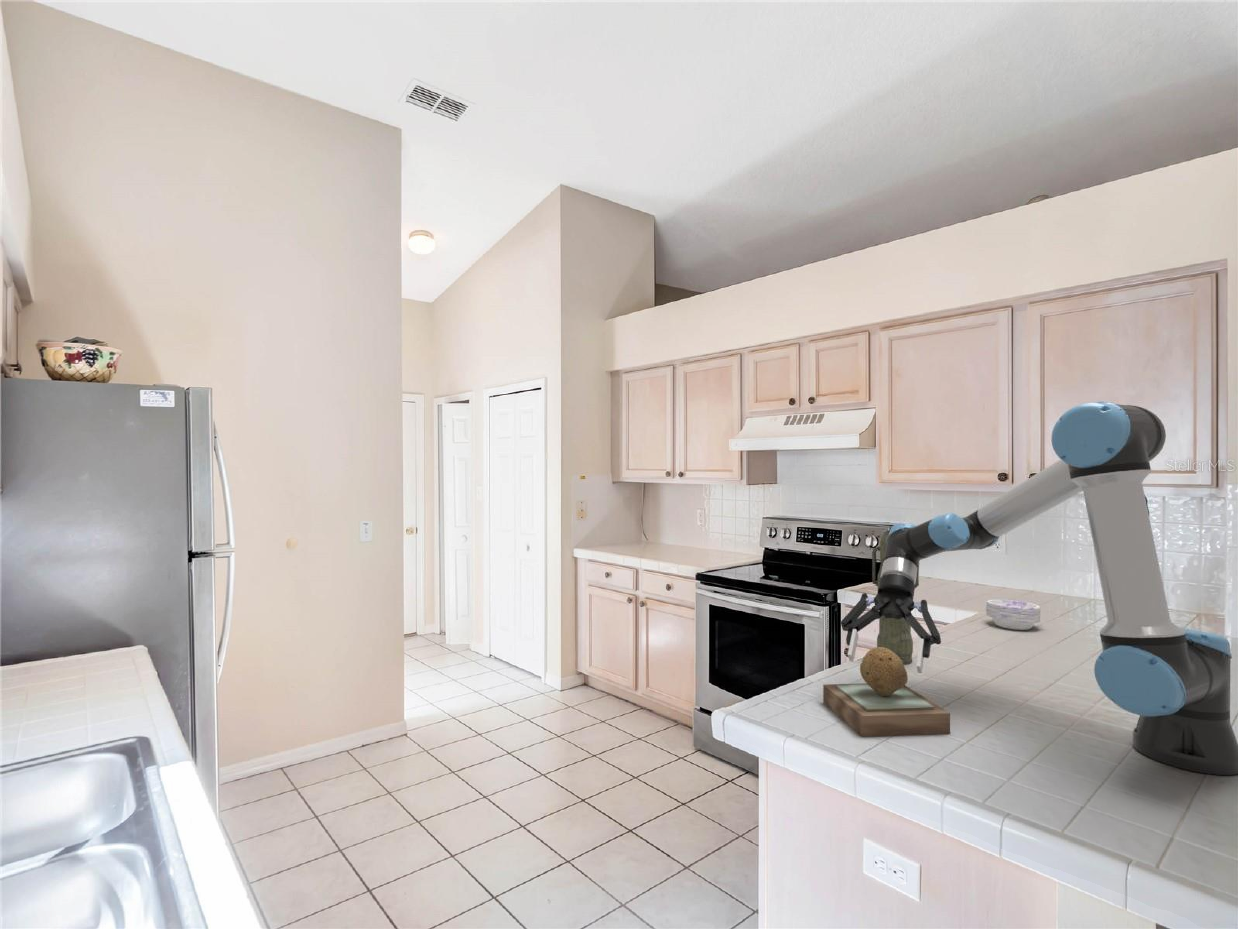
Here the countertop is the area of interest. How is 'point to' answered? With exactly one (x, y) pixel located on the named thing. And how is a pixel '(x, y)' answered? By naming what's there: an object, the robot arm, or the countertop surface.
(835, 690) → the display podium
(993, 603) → the paper bowls
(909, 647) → the thermos
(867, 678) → the brown rounded lump
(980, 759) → the countertop surface
